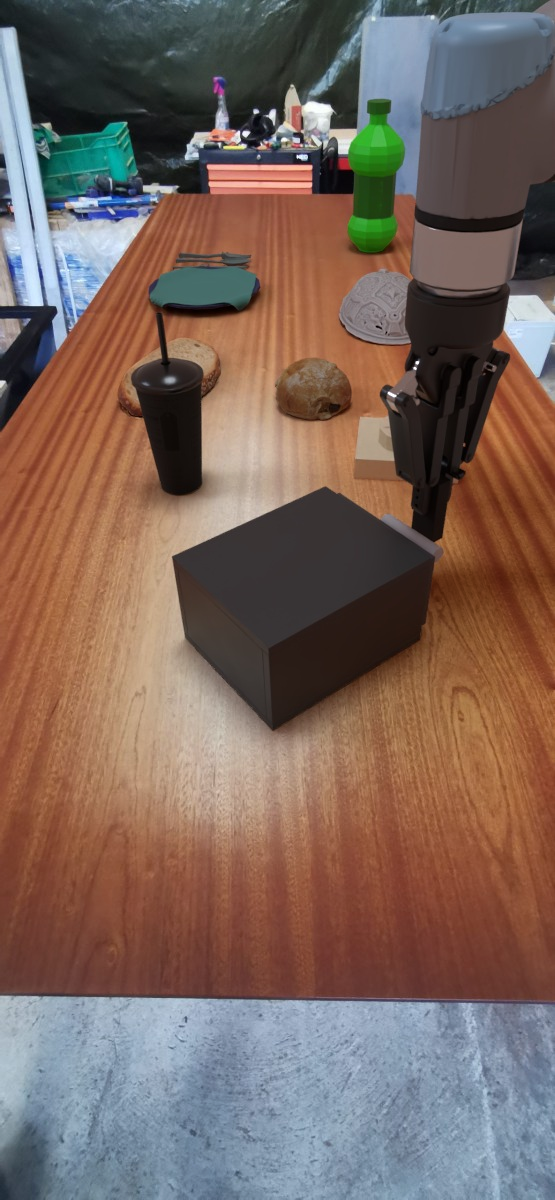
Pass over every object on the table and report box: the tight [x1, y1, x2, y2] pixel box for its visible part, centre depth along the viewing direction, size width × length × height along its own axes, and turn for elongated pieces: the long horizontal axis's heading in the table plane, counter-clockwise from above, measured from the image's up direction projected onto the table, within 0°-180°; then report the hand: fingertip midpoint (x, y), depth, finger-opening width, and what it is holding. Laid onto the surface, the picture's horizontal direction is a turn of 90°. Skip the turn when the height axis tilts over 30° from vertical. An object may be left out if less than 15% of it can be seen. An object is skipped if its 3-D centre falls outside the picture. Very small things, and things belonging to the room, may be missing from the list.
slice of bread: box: [116, 337, 222, 417], centre depth 105 cm, size 18×18×4 cm
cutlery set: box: [147, 251, 261, 312], centre depth 135 cm, size 20×30×2 cm, turn 176°
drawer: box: [336, 492, 445, 626], centre depth 66 cm, size 20×12×8 cm, turn 127°
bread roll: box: [274, 357, 353, 421], centre depth 99 cm, size 10×10×8 cm
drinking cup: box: [131, 311, 204, 496], centre depth 80 cm, size 8×8×20 cm
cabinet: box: [171, 486, 432, 731], centre depth 64 cm, size 17×14×10 cm
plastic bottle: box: [347, 98, 406, 254], centre depth 140 cm, size 10×10×25 cm
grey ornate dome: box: [338, 267, 412, 346], centre depth 121 cm, size 16×25×7 cm, turn 178°
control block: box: [353, 414, 462, 484], centre depth 88 cm, size 12×10×4 cm
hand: (426, 534), depth 70 cm, fingers closed
